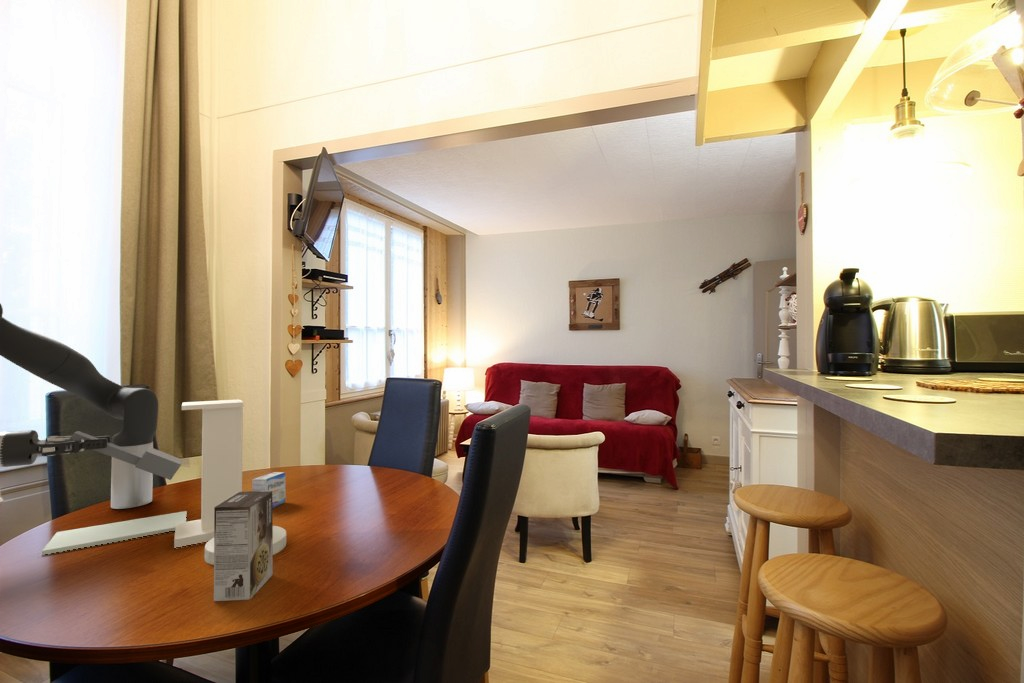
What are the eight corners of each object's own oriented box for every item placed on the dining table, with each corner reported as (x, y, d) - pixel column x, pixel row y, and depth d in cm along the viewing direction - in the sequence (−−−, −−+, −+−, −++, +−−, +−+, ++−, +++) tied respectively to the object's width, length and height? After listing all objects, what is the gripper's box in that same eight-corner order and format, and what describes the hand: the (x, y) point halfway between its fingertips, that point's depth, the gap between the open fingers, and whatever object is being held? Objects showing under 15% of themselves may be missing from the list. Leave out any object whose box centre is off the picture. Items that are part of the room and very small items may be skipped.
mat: (56, 536, 109) (56, 532, 109) (186, 514, 123) (186, 510, 123) (42, 555, 98) (42, 550, 98) (186, 529, 112) (186, 525, 112)
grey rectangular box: (238, 576, 88) (239, 491, 88) (273, 575, 88) (274, 489, 89) (211, 602, 78) (212, 506, 79) (250, 600, 79) (251, 505, 79)
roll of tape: (300, 546, 102) (300, 533, 102) (225, 574, 89) (226, 559, 89) (263, 532, 111) (263, 520, 111) (191, 555, 98) (191, 542, 98)
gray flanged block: (73, 437, 109) (85, 422, 110) (171, 473, 119) (181, 459, 120) (65, 441, 102) (78, 425, 104) (170, 480, 113) (181, 464, 114)
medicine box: (266, 511, 125) (266, 479, 125) (251, 510, 126) (252, 478, 126) (285, 502, 133) (286, 472, 133) (272, 501, 133) (272, 471, 134)
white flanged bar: (175, 531, 111) (177, 402, 112) (243, 519, 119) (244, 398, 120) (174, 548, 101) (175, 406, 102) (247, 534, 109) (248, 402, 110)
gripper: (-7, 435, 94) (104, 429, 104) (15, 428, 106) (113, 422, 116) (-9, 473, 94) (103, 462, 103) (13, 461, 105) (112, 453, 115)
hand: (108, 441), depth 109 cm, fingers closed on gray flanged block, 4 cm apart
